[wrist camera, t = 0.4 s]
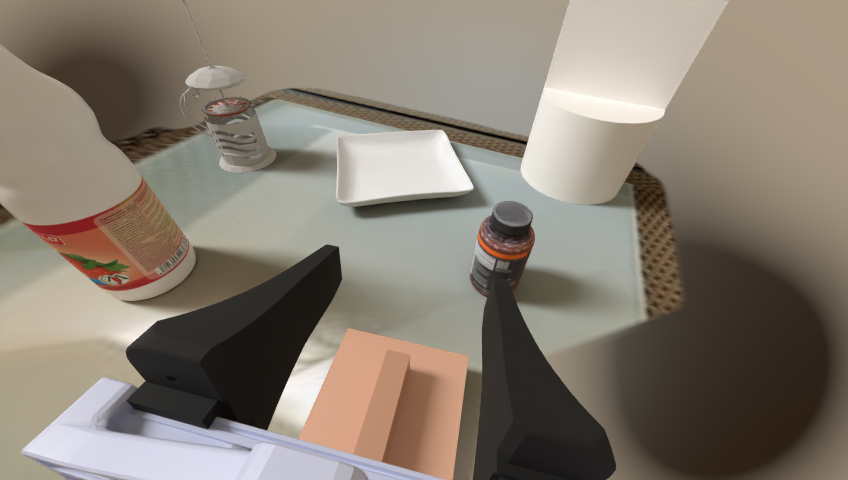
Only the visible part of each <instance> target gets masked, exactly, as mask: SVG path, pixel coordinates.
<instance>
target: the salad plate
mask: <svg viewBox="0 0 848 480" xmlns="http://www.w3.org/2000/svg"><path fill="white" fill-rule="evenodd" d="M336 147H337V186H336V197H337V201H338V202H339V203H340V204H341V205H344V206H350V207H356V206H365V205H373V204H381V203H390V202H399V201H408V200H418V199H430V198H442V197H454V196H460V195H464V194H467V193H469V192H471V191H473V189H474V186H473V184H472V182H471V180H470V178H469V177H468V175H467V173H466V171H465V170H464V168H463V166H462V164H461V163H460V161H459V159H458V157H457V155H456V153H455V152H454V150H453V148H452V146H451V143H450V141H449V139H448V137H447V135H446V134H445V132H444V131H442V130H424V131H402V132H387V133H372V134H358V135H345V136H339V137H338V138H337V141H336Z"/></svg>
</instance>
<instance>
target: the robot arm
mask: <svg viewBox="0 0 848 480" xmlns="http://www.w3.org/2000/svg"><path fill="white" fill-rule="evenodd" d="M341 280H342V274H341V264H340V254H339V247H337V246H332V245H325V246H323V247H322V248H320V249H319V250H317V251H316V252H314V253H313V254H311V255H310V256H308V257H307V258H305V259H304V260H302V261H300V262H299V263H297V264H296V265H294V266H293V267H291V268H289V269H288V270H286V271H284V272H282V273H281V274H279V275H277V276H276V277H274V278H272V279H270V280H269V281H267V282H265V283H263V284H261V285H259V286H257V287H255V288H253V289H250V290H248V291H246V292H244V293H242V294H239V295H237V296H234V297H232V298H229V299H227V300H224V301H222V302H219V303H217V304H214V305H211V306H208V307H205V308H202V309H199V310H196V311H193V312H189V313H186V314H182V315H178V316H175V317H171V318H167V319H164V320H160V321H157V322H156V323H155V324H153V325H152V326H151V327H150V328H149V329H148V330H147V331H146V332H144V333H143V334H142V335H141V336H140V337H139V338H138V339H136V340H135V341H134V342H133V343H132V344H131V345H130V346H128V347H127V350H126V356H127V358H128V360H129V361H130V363H131V364H132V365H133V366H134V368H135V369H136V370H137V371H138V372H139V373H140V375H141V376H142V377H143V378H144V379H145V380H146V381H145V382H144V383H143V384H142V385H141V386H140V387H139V388H137V387H136V386H134V385H132V384H129V383H126V382H122V381H118V380H115V379H111V378H107V377H104V378H101V379H100V380H99V381H98V382H97V383H96V384H95V385H94V386H92V387H91V388H90V389H89V390H88V391H87V392H86V393H85V394H84V395H82V396H81V397H80V398H79V399H78V400H77V401H76V402H75V403H74V404H72V405H71V406H70V407H69V408H68V409H67V410H66V411H65V412H64V413H62V414H61V415H60V416H59V417H58V418H57V419H56V420H55V421H54V422H52V423H51V424H50V425H49V426H48V427H47V428H46V429H45V430H44V431H42V432H41V433H40V434H39V435H38V436H37V437H36V438H35V439H34V440H32V441H31V442H30V443H29V444H28V445H27V446H26V447H25V448H24V449H22V452H21V454H23V455H25V456H27V457H28V458H30V459H32V460H34V461H35V462H37V463H39V464H41V465H43V466H44V467H46V468H48V469H50V470H51V471H53V472H55V473H57V474H58V475H60V476H62V477H64V478H66V479H67V480H445V479H441V478H438V477H434V476H431V475H427V474H423V473H420V472H416V471H412V470H409V469H405V468H401V467H398V466H394V465H391V464H387V463H383V462H380V461H376V460H372V459H369V458H365V457H361V456H358V455H354V454H350V453H347V452H343V451H340V450H336V449H332V448H329V447H325V446H321V445H318V444H314V443H310V442H307V441H303V440H300V439H296V438H292V437H289V436H285V435H281V434H278V433H274V432H270V431H267V429H268V427H269V424H270V422H271V419H272V417H273V414H274V412H275V409H276V407H277V404H278V402H279V399H280V397H281V395H282V392H283V390H284V388H285V385H286V383H287V381H288V379H289V377H290V374H291V372H292V370H293V368H294V366H295V364H296V362H297V360H298V357H299V355H300V353H301V351H302V349H303V347H304V345H305V343H306V342H307V340H308V338H309V336H310V335H311V333H312V332H313V330H314V328H315V327H316V325H317V324H318V322H319V320H320V319H321V317H322V316H323V314H324V312H325V311H326V309H327V308H328V306H329V304H330V303H331V301H332V299H333V298H334V296H335V294H336V291H337V289H338V287H339V285H340V282H341ZM615 470H616V463H615V459H614V455H613V452H612V448H611V446H610V443H609V440H608V437H607V435H606V432H605V430H604V429H603V427H602V426H601V425H600V424H599V423H598V422H597V421H596V420H595V419H594V418H593V417H592V416H591V415H590V414H589V413H588V412H587V410H586V409H585V408H584V407H583V406H582V405H581V404H580V403H579V402H578V400H577V399H576V398H575V397H574V396H573V395H572V394H571V392H570V391H569V390H568V388H567V387H566V386H565V385H564V383H563V382H562V381H561V379H560V378H559V377H558V375H557V374H556V373H555V371H554V370H553V369H552V367H551V366H550V364H549V363H548V361H547V360H546V358H545V357H544V355H543V354H542V352H541V350H540V349H539V347H538V346H537V344H536V342H535V340H534V339H533V337H532V335H531V333H530V331H529V329H528V327H527V325H526V323H525V321H524V319H523V317H522V315H521V312H520V310H519V308H518V306H517V303H516V301H515V298H514V295H513V293H512V290H511V287H510V284H509V282H508V280H504V279H498V278H493V281H492V284H491V287H490V291H489V294H488V297H487V301H486V304H485V308H484V315H483V324H482V395H481V407H480V418H479V428H478V438H477V448H476V457H475V466H474V475H473V480H606V479H607V478H609V477H610V476H611V475H612V474H613V472H614V471H615Z"/></svg>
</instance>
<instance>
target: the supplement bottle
mask: <svg viewBox="0 0 848 480" xmlns="http://www.w3.org/2000/svg"><path fill="white" fill-rule="evenodd" d="M532 219H533V215H532V212H531V211H530V210H529V209H528V208H527V207H526V206H524V205H523V204H521V203H518V202H514V201H504V202H500V203H498V204H497V205H496V206H495V207H494V209H493V213H492V215H491V216H489V217H487V218H486V219H485V220H484V221H483V222H482V224H481V226H480V229H479V234H478V238H477V243H476V247H475V252H474V257H473V262H472V267H471V273H470V279H471V282H472V284H473V286H474V287H475V289H476V290H477V291H478V292H480V293H481V294H483V295H485V296H488V294H489V291H490V287H491V284H492V281H493V278H498V279H504V280H508V282H509V284H510V287H511V290H512V293H513V292H514V290H515V289H516V287H517V285H518V283H519V280H520V277H521V275H522V273H523V270H524V268H525V265H526V262H527V260H528V257H529V255H530V253H531V250H532V247H533V245H534V241H535V234H534V231H533V229H532V227H531V222H532Z"/></svg>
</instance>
